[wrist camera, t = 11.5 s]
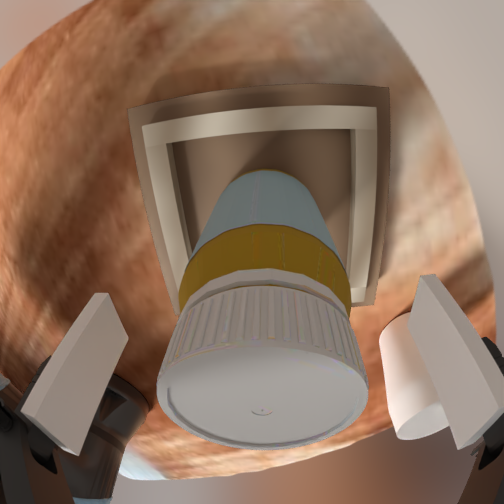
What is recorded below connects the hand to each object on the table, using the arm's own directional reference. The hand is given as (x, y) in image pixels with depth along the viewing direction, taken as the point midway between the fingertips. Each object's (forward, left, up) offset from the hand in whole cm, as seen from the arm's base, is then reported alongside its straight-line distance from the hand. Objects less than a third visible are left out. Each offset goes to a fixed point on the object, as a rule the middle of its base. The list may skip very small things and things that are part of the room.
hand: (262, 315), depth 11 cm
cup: (+15, -16, -13) cm, 26 cm away
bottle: (0, 0, -11) cm, 11 cm away
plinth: (0, 0, -13) cm, 13 cm away
